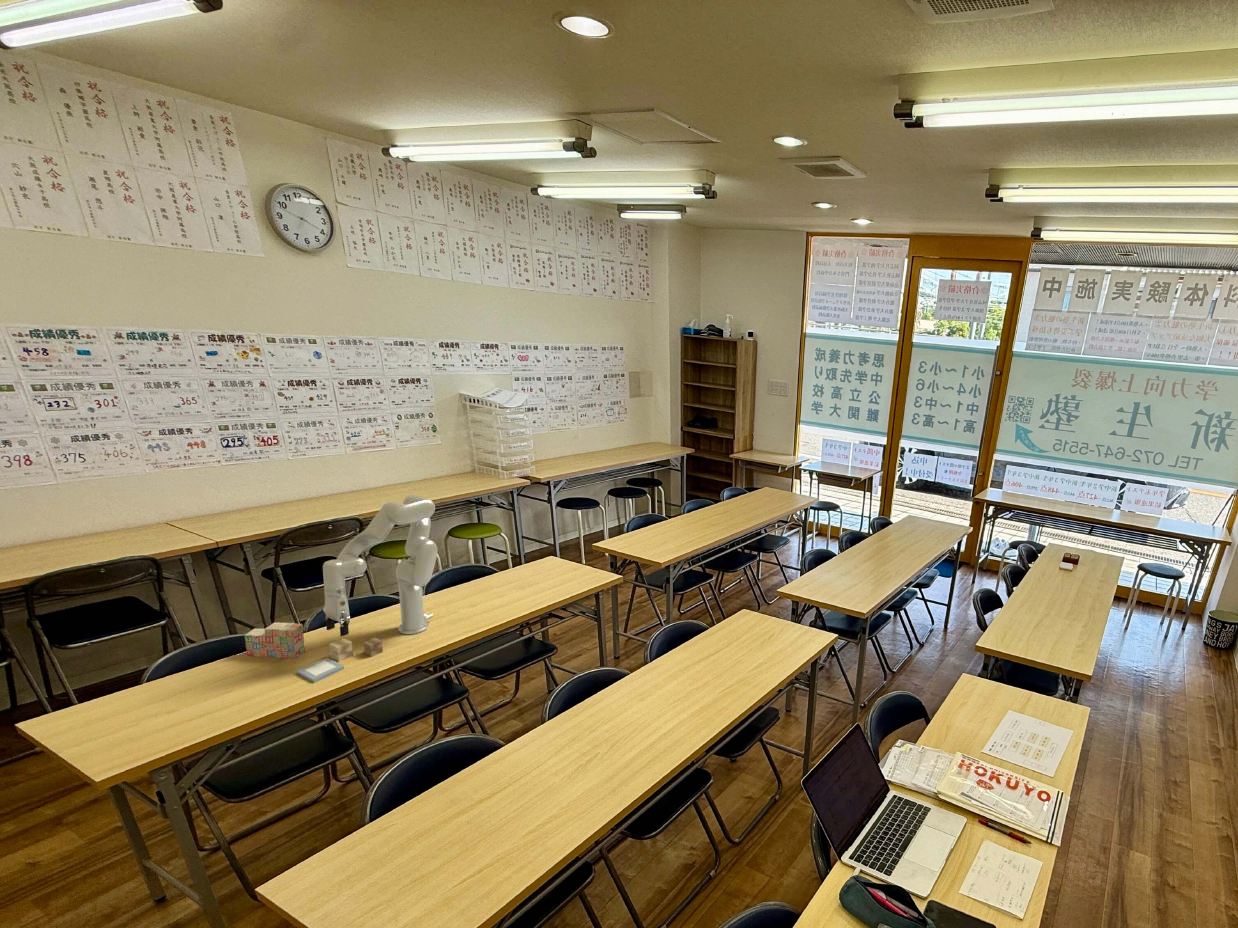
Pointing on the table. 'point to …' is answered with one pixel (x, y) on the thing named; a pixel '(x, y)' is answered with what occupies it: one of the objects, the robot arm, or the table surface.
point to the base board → (320, 670)
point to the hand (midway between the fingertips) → (337, 631)
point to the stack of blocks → (276, 641)
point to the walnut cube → (373, 647)
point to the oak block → (341, 649)
